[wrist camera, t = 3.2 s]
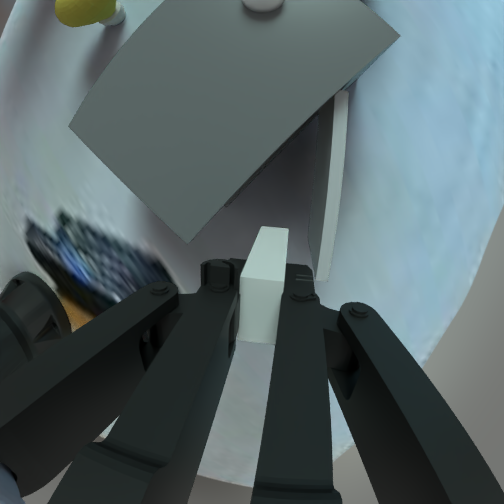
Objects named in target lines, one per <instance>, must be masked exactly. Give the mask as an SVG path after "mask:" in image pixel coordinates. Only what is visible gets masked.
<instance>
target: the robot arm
mask: <svg viewBox="0 0 504 504" xmlns="http://www.w3.org/2000/svg"><path fill="white" fill-rule="evenodd" d="M288 230H289V229H287V228H276V227H266V226H261V228H260V231H259V233H258V235H257V238H256V240H255V243H254V245H253V247H252V250H251V252H250V254H249V257H248V259H247V260H243V259H233V258H230V259H229V260H225V259H213V260H208V261H205V262H203V263H202V264H201V286H200V288H199V290H198V291H197V293H193V294H178V287H177V286H176V285H175V284H173V283H170V282H165V281H162V282H161V281H157V282H154V283H150V284H148V285H146V286H144V287H143V288H141V289H139V290H138V291H136V292H135V293H133V294H132V295H130V296H128V297H127V298H125V299H124V300H122V301H120V302H119V303H117V304H116V305H114V306H113V307H111V308H110V309H108V310H106V311H105V312H103V313H102V314H100V315H99V316H97V317H96V318H94V319H92V320H91V321H89V322H88V323H86V324H85V325H83V326H82V327H80V328H79V329H77V330H76V331H74V332H73V333H71V328H70V324H69V321H68V318H67V315H66V313H65V311H64V309H63V307H62V305H61V303H60V301H59V300H58V298H57V297H56V295H55V294H54V292H53V291H52V290H51V289H50V287H49V286H48V285H47V284H46V283H45V282H44V281H43V280H42V279H41V278H39V277H38V276H36V275H35V274H33V273H30V272H21V273H20V274H18V275H16V276H15V277H13V278H12V279H11V280H10V281H9V283H8V284H7V285H6V287H5V288H4V290H3V291H2V293H1V294H0V504H25V502H24V501H23V499H22V497H24V496H27V495H29V494H32V493H33V492H35V491H37V490H39V489H40V488H42V487H44V486H45V485H46V484H47V483H49V482H50V481H51V480H52V479H53V478H55V477H56V476H57V475H58V474H59V473H60V472H61V471H62V470H63V469H64V468H65V467H66V466H67V465H68V464H70V462H72V461H73V462H72V463H71V465H70V466H69V468H68V470H67V471H66V473H65V475H64V476H63V478H62V480H61V481H60V483H59V485H58V487H57V488H56V490H55V492H54V493H53V495H52V497H51V499H50V500H49V502H48V504H187V502H188V499H189V496H190V492H191V490H192V487H193V483H194V480H195V477H196V474H197V471H198V468H199V465H200V461H201V458H202V455H203V452H204V449H205V446H206V442H207V439H208V436H209V433H210V430H211V426H212V423H213V420H214V417H215V414H216V410H217V407H218V404H219V401H220V397H221V394H222V391H223V388H224V384H225V381H226V378H227V375H228V371H229V368H230V365H231V361H232V358H233V355H234V351H235V347H236V336H237V332H238V340H241V341H248V342H256V343H264V344H273V345H275V351H274V358H273V366H272V373H271V381H270V388H269V395H268V401H267V408H266V415H265V421H264V428H263V434H262V440H261V446H260V452H259V458H258V464H257V470H256V475H255V481H254V487H253V492H252V497H251V503H250V504H342V498H341V495H340V493H339V492H338V491H337V490H335V489H334V486H333V467H332V466H333V465H332V435H331V416H330V400H329V386H328V379H329V381H330V384H331V386H332V389H333V391H334V393H335V396H336V398H337V400H338V403H339V405H340V408H341V410H342V413H343V415H344V417H345V420H346V422H347V425H348V427H349V430H350V432H351V434H352V437H353V439H354V442H355V444H356V447H357V449H358V451H359V454H360V457H361V459H362V462H363V464H364V467H365V469H366V472H367V474H368V477H369V479H370V482H371V484H372V487H373V490H374V492H375V495H376V497H377V500H378V502H379V504H504V492H503V491H502V489H501V487H500V485H499V483H498V482H497V480H496V478H495V477H494V475H493V473H492V472H491V470H490V468H489V466H488V465H487V463H486V462H485V460H484V458H483V457H482V455H481V454H480V452H479V450H478V449H477V447H476V446H475V444H474V443H473V441H472V440H471V438H470V436H469V435H468V433H467V432H466V430H465V429H464V427H463V426H462V424H461V423H460V421H459V420H458V419H457V417H456V416H455V414H454V413H453V411H452V410H451V409H450V407H449V406H448V404H447V403H446V401H445V400H444V399H443V397H442V396H441V394H440V393H439V392H438V391H437V389H436V388H435V386H434V385H433V384H432V382H431V381H430V379H429V378H428V377H427V375H426V374H425V373H424V371H423V370H422V369H421V367H420V366H419V365H418V363H417V362H416V361H415V359H414V358H413V357H412V356H411V354H410V353H409V352H408V350H407V349H406V348H405V347H404V345H403V344H402V343H401V341H400V340H399V339H398V338H397V336H396V335H395V334H394V333H393V331H392V330H391V329H390V328H389V326H388V325H387V324H386V323H385V321H384V320H383V319H382V318H381V317H380V315H379V314H378V313H377V312H376V311H375V310H374V309H373V308H372V307H370V306H368V305H366V304H364V303H360V302H350V303H345V304H344V305H342V306H341V308H340V311H336V310H332V309H329V308H327V307H325V306H323V305H321V304H320V299H319V297H318V295H317V294H315V289H314V281H313V273H312V270H311V269H310V268H309V267H308V266H307V265H299V264H289V263H286V256H287V243H288ZM146 331H147V332H148V337H147V338H146V339H144V340H143V339H142V335H143V334H144V332H146ZM119 415H120V416H119ZM118 416H119V417H118ZM117 417H118V419H117V421H116V422H115V424H114V426H113V427H112V429H111V431H110V432H109V434H108V436H107V437H106V438H105V440H104V441H102V442H93V441H94V440H95V438H97V437H98V436H99V435H100V434H101V433H102V432H103V431H104V430H105V429H106V428H107V427H108V426H109V425H110V424H111V423H112V422H113V421H114V420H115V419H116V418H117Z"/></svg>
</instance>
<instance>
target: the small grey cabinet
mask: <svg viewBox="0 0 504 504" xmlns="http://www.w3.org/2000/svg"><path fill="white" fill-rule="evenodd" d="M399 37H400V35H399V34H398V33H397V32H396V31H395V30H394V29H393V28H392V27H391V26H390V25H389V24H387V23H386V22H385V21H384V20H383V19H382V18H381V17H379V16H378V15H377V14H376V13H375V12H374V11H372V10H371V9H370V8H369V7H367V6H366V5H365V4H364V3H362V2H361V0H165V1H163V2H162V3H161V4H160V5H159V6H158V7H157V8H156V9H155V10H154V11H153V12H152V13H151V15H150V16H149V17H148V18H147V19H146V20H145V21H144V22H143V23H142V24H141V25H140V26H139V27H138V29H137V30H136V31H135V32H134V33H133V34H132V35H131V37H130V38H129V39H128V40H127V41H126V42H125V44H124V45H123V46H122V47H121V49H120V50H119V51H118V52H117V54H116V55H115V56H114V57H113V59H112V60H111V61H110V63H109V64H108V65H107V67H106V68H105V69H104V71H103V72H102V74H101V75H100V76H99V78H98V79H97V81H96V82H95V84H94V85H93V87H92V88H91V90H90V91H89V93H88V94H87V96H86V97H85V99H84V101H83V102H82V104H81V105H80V107H79V109H78V110H77V112H76V114H75V115H74V117H73V119H72V121H71V122H70V124H69V126H68V127H69V128H70V129H71V130H72V131H73V132H74V133H75V134H76V135H77V136H78V137H79V138H80V139H81V140H82V142H83V143H84V144H85V145H86V146H87V147H88V148H89V149H90V150H91V151H92V152H93V153H94V154H95V155H96V156H97V157H98V158H99V159H100V160H101V161H102V162H103V163H104V164H105V165H106V166H107V167H108V168H109V169H110V170H111V171H112V172H113V173H114V174H115V175H116V176H117V177H118V178H119V179H120V180H121V181H122V182H123V183H124V184H125V185H126V186H127V187H128V188H129V189H130V190H131V191H132V192H133V193H134V194H135V195H136V196H137V197H138V198H139V199H140V200H141V201H142V202H143V203H144V204H145V205H146V206H147V207H148V208H149V209H150V210H151V211H153V212H154V213H155V214H156V215H157V216H158V217H159V218H160V219H161V220H162V221H163V222H164V223H165V224H166V225H167V226H168V227H169V228H170V229H171V230H172V231H174V232H175V233H176V234H177V235H178V236H179V237H180V238H181V239H182V240H183V241H184V242H185V243H186V244H187V245H188V244H189V243H190V242H191V241H192V240H193V239H194V237H195V236H196V235H197V234H198V233H199V232H200V231H201V230H202V229H203V227H204V226H205V225H206V224H207V223H208V222H209V221H210V220H211V219H212V217H213V216H214V215H215V214H216V213H217V212H218V211H219V210H220V209H221V208H222V207H223V205H224V206H225V207H227V206H228V205H229V204H230V203H231V202H232V201H233V200H234V199H235V198H236V197H237V196H238V195H239V194H240V193H241V192H242V191H243V190H244V188H245V187H246V186H247V185H248V184H249V183H250V182H251V181H252V180H253V179H254V178H255V177H256V176H257V175H258V174H259V173H260V172H261V171H262V170H263V169H264V168H265V167H266V166H267V165H268V164H269V163H270V162H271V161H272V160H273V159H274V158H275V157H276V156H277V155H278V154H279V153H280V152H281V151H282V150H283V149H284V148H285V147H286V146H287V145H288V144H289V143H290V142H291V141H292V140H293V139H294V138H295V137H296V136H297V135H298V134H299V133H300V132H301V131H302V130H303V129H304V128H305V127H306V126H307V125H308V124H309V123H310V122H311V121H312V120H313V119H314V118H315V117H317V116H318V115H319V110H320V108H321V107H322V106H323V105H324V104H325V103H326V102H327V101H328V100H329V99H330V98H331V97H332V96H333V95H334V94H335V93H337V92H338V91H339V90H345V89H347V88H348V87H349V86H350V85H351V84H352V83H353V82H354V81H355V80H357V79H358V78H359V77H360V76H361V75H362V74H363V73H364V72H365V71H366V70H367V69H368V68H369V67H370V66H371V65H372V64H373V63H374V62H375V61H376V60H377V59H378V58H379V57H380V56H381V55H382V54H383V53H384V52H385V51H386V50H387V49H388V48H389V47H390V46H391V45H392V44H393V43H394V42H395V41H396V40H397V39H398V38H399Z"/></svg>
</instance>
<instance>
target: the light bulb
mask: <svg viewBox="0 0 504 504" xmlns="http://www.w3.org/2000/svg"><path fill="white" fill-rule="evenodd" d="M55 14H56V16H57V18H58V19H59V21H60V22H61V23H63V24H65V25H67V26H70V27H80V26H85V25H90V24H94V23H96V22H99V23H101V24H103V25H105V26H109V25H118V24H119V23H121V22H122V21H123V19H124V18H125V16H126V12H125V10H124V6H123V5H122V4H121V3H119V2H117V1H116V0H56V2H55Z"/></svg>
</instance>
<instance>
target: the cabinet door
mask: <svg viewBox="0 0 504 504" xmlns="http://www.w3.org/2000/svg"><path fill="white" fill-rule="evenodd" d="M348 93H349V91H344V90H339V91H338V92H337V93H335V94H334V95H333V96H332V97H331V98H330V99H329V100H328V101H327V102H326V103H325V104H324V105H323V106H322V107H321V108H320V110H319V116H318V132H317V147H316V159H315V171H314V182H313V193H312V203H311V212H310V221H309V230H308V241H309V246H310V252H311V257H312V263H313V268H314V274H315V280H316V281H326V282H328V278H329V272H330V266H331V260H332V254H333V248H334V241H335V235H336V228H337V220H338V213H339V205H340V197H341V188H342V178H343V168H344V158H345V146H346V132H347V115H348Z"/></svg>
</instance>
